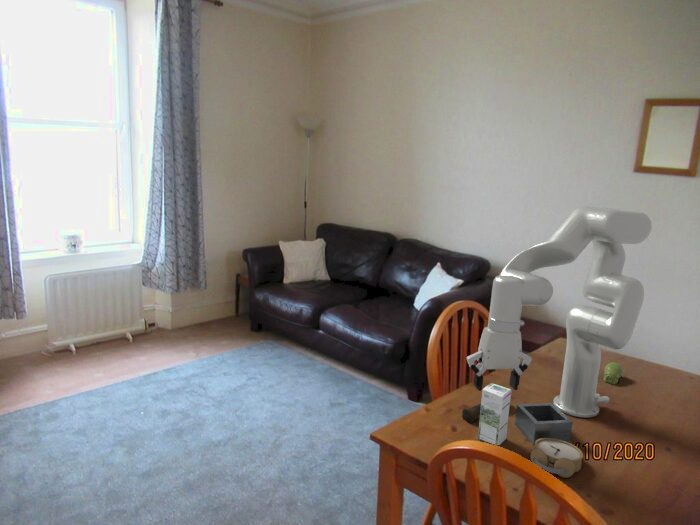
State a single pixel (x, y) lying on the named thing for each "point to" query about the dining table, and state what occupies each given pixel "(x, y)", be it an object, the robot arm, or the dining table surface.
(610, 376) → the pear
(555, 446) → the alarm clock
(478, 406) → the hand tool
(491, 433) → the syrup box
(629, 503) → the dining table surface
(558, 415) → the socket holder
